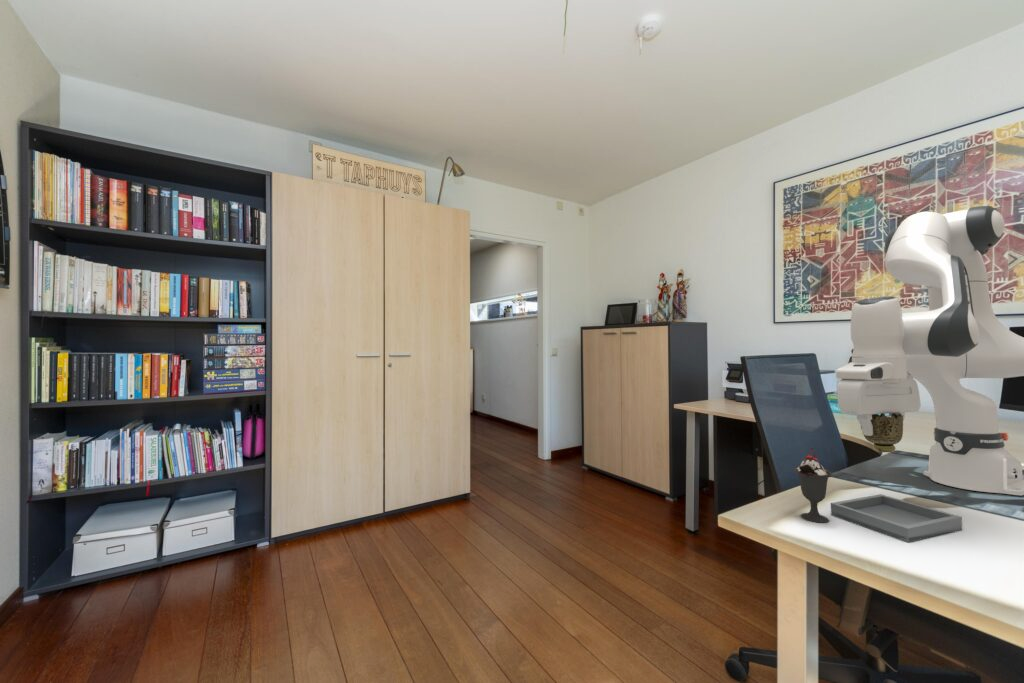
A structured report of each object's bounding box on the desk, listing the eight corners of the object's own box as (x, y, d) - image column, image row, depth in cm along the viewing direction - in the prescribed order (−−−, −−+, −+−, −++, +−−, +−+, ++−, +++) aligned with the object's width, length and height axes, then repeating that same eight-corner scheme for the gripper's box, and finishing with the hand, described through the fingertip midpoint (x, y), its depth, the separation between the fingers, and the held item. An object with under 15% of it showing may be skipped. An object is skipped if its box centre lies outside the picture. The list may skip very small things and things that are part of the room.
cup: (854, 450, 90) (849, 414, 91) (873, 447, 93) (868, 412, 94) (896, 455, 83) (891, 415, 84) (915, 452, 86) (910, 413, 87)
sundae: (820, 512, 92) (817, 445, 92) (841, 524, 85) (838, 452, 85) (789, 511, 92) (786, 445, 93) (807, 524, 86) (804, 452, 86)
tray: (881, 505, 95) (880, 494, 95) (962, 530, 81) (961, 516, 81) (831, 514, 90) (830, 503, 90) (908, 542, 77) (907, 528, 77)
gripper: (894, 369, 95) (897, 429, 94) (829, 370, 89) (832, 434, 89) (928, 369, 89) (932, 433, 88) (861, 371, 83) (864, 439, 83)
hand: (881, 434), depth 89 cm, fingers closed on cup, 6 cm apart
